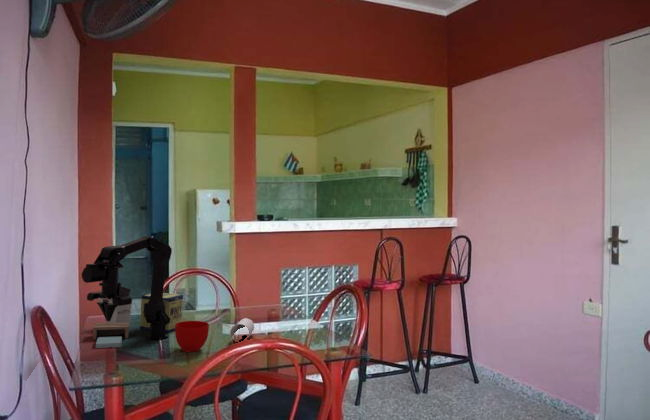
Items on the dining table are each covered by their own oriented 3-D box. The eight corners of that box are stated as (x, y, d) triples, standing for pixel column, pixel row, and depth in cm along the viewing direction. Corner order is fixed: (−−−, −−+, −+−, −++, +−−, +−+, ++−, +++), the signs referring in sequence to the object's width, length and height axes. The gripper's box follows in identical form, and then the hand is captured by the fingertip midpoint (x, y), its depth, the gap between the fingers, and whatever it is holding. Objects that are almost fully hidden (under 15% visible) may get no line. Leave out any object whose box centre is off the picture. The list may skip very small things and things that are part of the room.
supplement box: (115, 329, 231) (116, 301, 231) (106, 327, 236) (107, 299, 236) (130, 327, 237) (131, 299, 237) (121, 324, 242) (122, 297, 242)
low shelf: (127, 338, 217) (128, 326, 217) (92, 339, 213) (93, 327, 213) (128, 333, 225) (129, 322, 225) (94, 335, 221) (95, 323, 221)
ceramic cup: (188, 341, 216) (189, 317, 216) (214, 350, 206) (215, 324, 206) (161, 347, 206) (162, 322, 206) (187, 356, 196) (188, 329, 196)
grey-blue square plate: (120, 348, 204) (120, 342, 204) (95, 349, 202) (95, 343, 202) (121, 341, 214) (121, 336, 214) (97, 342, 211) (98, 337, 211)
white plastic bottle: (257, 333, 236) (258, 315, 236) (248, 343, 217) (249, 324, 217) (240, 332, 237) (240, 314, 237) (229, 342, 218) (230, 323, 218)
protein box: (168, 333, 229) (170, 298, 229) (139, 329, 234) (140, 294, 234) (182, 328, 239) (183, 294, 239) (154, 324, 244) (155, 291, 244)
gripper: (144, 280, 201) (142, 320, 201) (111, 275, 210) (109, 314, 210) (120, 283, 191) (118, 326, 191) (86, 278, 200) (85, 319, 200)
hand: (108, 321), depth 198 cm, fingers closed
